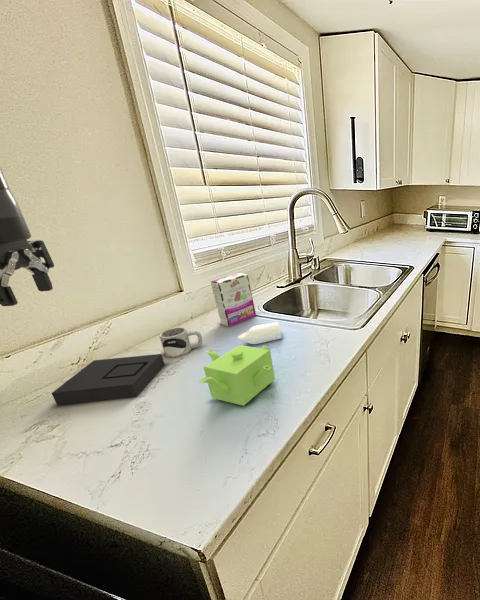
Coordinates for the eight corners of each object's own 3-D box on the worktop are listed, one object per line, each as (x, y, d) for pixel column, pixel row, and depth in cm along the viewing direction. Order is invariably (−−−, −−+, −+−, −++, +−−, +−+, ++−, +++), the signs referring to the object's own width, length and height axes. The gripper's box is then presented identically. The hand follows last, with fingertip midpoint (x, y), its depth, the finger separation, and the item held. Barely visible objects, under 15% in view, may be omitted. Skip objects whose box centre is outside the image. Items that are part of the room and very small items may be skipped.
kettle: (209, 422, 69) (197, 377, 65) (209, 386, 80) (199, 347, 76) (283, 399, 75) (275, 357, 71) (273, 370, 87) (266, 332, 83)
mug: (163, 360, 92) (156, 339, 90) (167, 349, 98) (161, 329, 95) (203, 352, 96) (198, 332, 94) (205, 342, 102) (200, 323, 99)
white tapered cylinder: (238, 343, 101) (234, 327, 99) (278, 334, 107) (275, 318, 105) (240, 351, 96) (236, 334, 94) (282, 341, 102) (279, 325, 100)
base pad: (58, 407, 74) (51, 393, 72) (98, 373, 86) (93, 360, 85) (137, 398, 76) (132, 384, 75) (165, 366, 89) (161, 353, 88)
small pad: (110, 391, 79) (105, 377, 78) (122, 379, 84) (117, 366, 82) (138, 388, 80) (133, 374, 79) (148, 376, 85) (144, 363, 83)
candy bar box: (248, 313, 123) (239, 272, 117) (256, 316, 120) (248, 274, 114) (220, 325, 114) (209, 280, 108) (228, 328, 111) (218, 282, 105)
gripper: (3, 212, 66) (36, 287, 72) (-78, 221, 53) (-30, 312, 59) (47, 211, 67) (76, 285, 73) (-22, 219, 54) (20, 309, 60)
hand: (29, 297), depth 66 cm, fingers open, 8 cm apart
